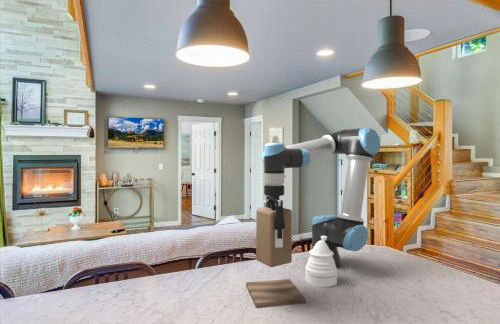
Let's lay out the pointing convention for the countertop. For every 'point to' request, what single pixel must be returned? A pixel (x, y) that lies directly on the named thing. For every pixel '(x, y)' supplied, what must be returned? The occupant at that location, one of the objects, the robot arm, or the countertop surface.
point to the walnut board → (274, 293)
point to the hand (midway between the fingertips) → (273, 242)
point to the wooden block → (272, 238)
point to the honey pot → (321, 265)
